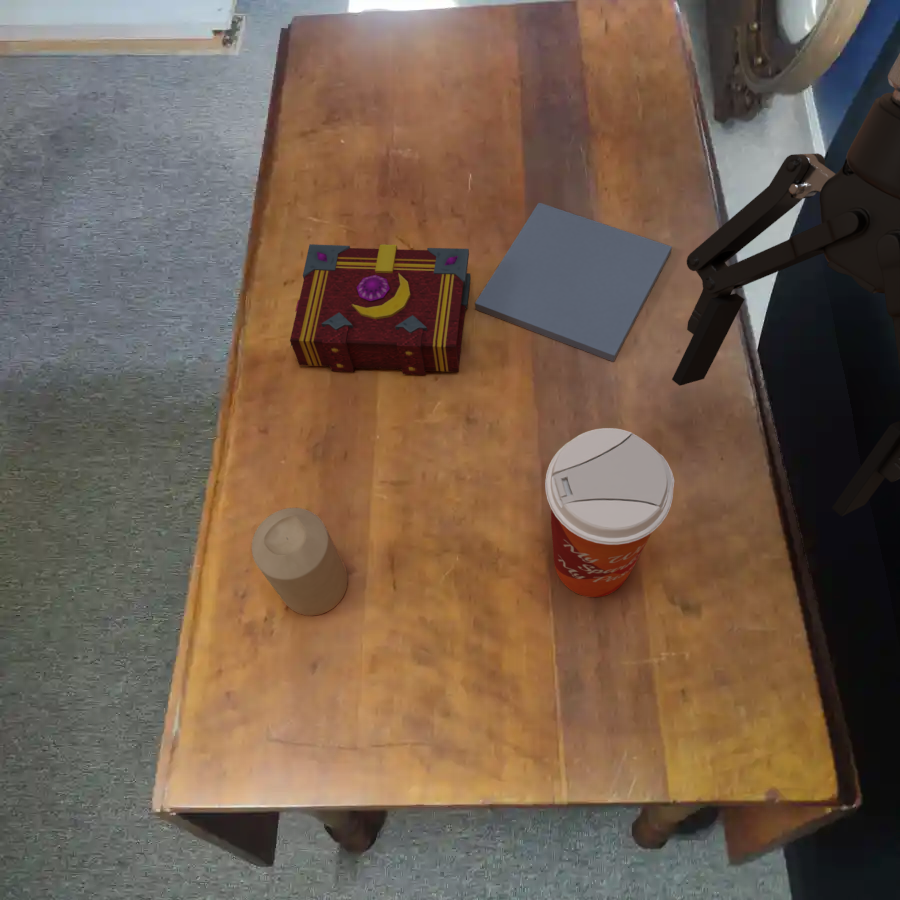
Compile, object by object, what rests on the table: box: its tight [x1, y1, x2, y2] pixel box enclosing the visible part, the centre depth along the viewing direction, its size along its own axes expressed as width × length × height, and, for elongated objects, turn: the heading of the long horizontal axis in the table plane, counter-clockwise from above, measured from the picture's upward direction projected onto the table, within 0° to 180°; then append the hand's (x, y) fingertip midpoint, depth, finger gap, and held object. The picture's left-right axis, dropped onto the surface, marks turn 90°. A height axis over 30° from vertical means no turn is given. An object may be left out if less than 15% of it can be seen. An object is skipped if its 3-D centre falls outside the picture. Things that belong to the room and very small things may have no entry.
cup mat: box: [474, 202, 673, 363], centre depth 80 cm, size 14×14×1 cm
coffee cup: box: [544, 427, 675, 598], centre depth 60 cm, size 8×8×15 cm
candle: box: [251, 507, 348, 617], centre depth 63 cm, size 6×6×10 cm
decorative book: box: [289, 243, 472, 376], centre depth 78 cm, size 11×16×5 cm
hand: (762, 439), depth 55 cm, fingers open, 13 cm apart
